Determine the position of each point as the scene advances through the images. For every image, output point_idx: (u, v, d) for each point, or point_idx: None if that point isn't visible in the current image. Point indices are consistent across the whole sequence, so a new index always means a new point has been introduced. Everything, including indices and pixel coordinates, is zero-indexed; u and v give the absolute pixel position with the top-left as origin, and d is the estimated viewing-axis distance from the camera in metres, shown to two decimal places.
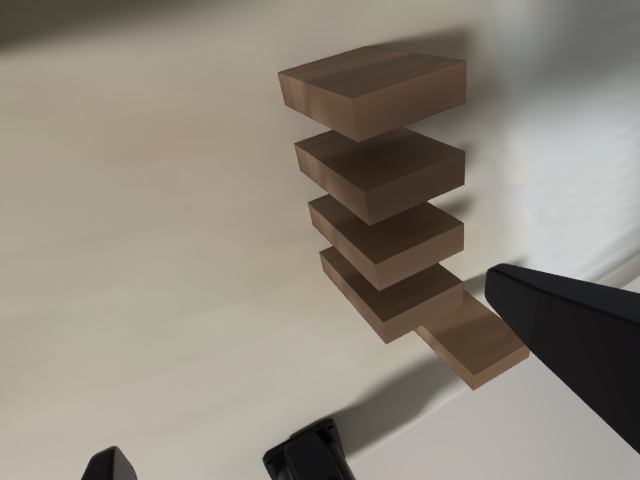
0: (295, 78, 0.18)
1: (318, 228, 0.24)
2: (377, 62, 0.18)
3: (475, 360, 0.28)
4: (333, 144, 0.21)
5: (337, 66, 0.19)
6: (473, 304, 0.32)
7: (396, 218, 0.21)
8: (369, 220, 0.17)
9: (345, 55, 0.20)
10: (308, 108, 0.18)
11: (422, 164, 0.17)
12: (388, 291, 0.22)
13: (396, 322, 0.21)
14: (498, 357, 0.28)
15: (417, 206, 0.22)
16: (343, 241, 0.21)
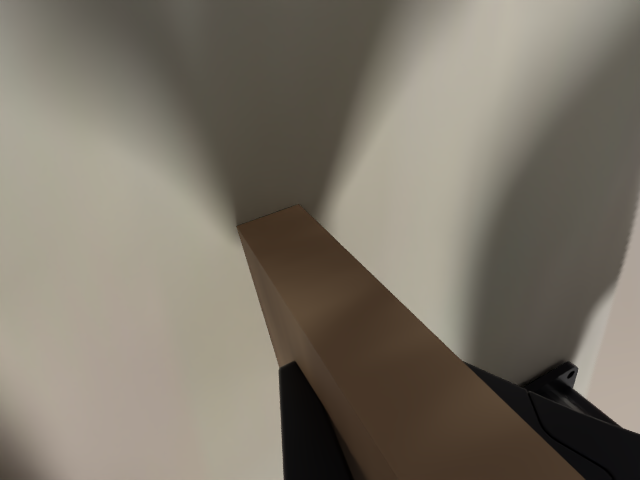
0: None
1: None
2: None
3: None
4: None
5: None
6: (279, 306, 0.08)
7: None
8: None
9: None
10: None
11: None
12: None
13: None
14: None
15: None
16: None
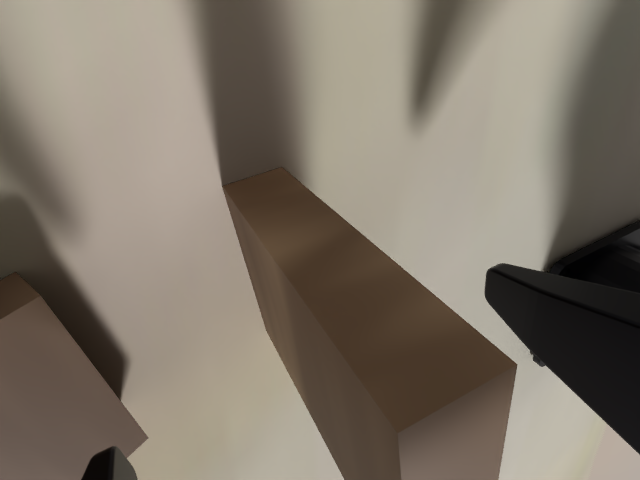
0: None
1: None
2: None
3: None
4: None
5: None
6: (259, 252, 0.08)
7: None
8: None
9: None
10: None
11: None
12: None
13: None
14: None
15: None
16: None
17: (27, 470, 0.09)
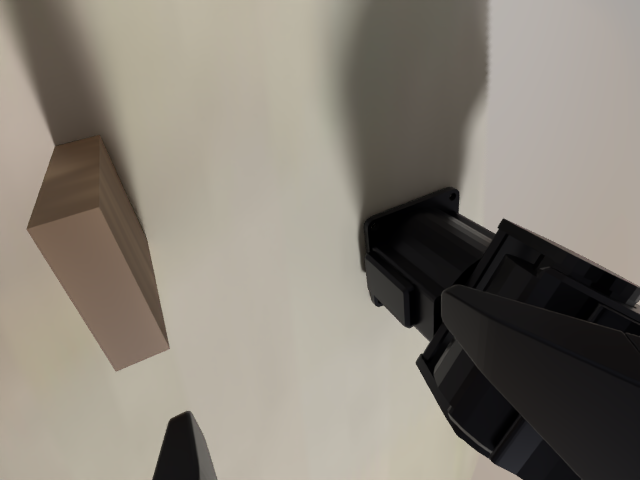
0: None
1: None
2: None
3: None
4: None
5: None
6: None
7: None
8: None
9: None
10: None
11: None
12: None
13: None
14: None
15: None
16: None
17: None
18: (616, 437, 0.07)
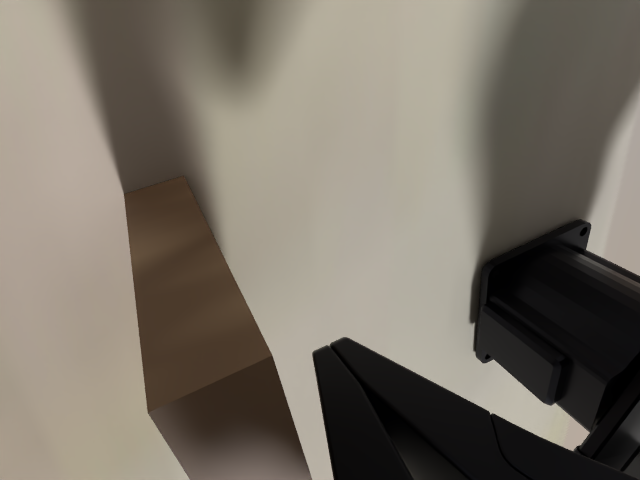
0: None
1: None
2: None
3: None
4: None
5: None
6: None
7: None
8: None
9: None
10: None
11: None
12: None
13: None
14: None
15: None
16: None
17: None
18: None
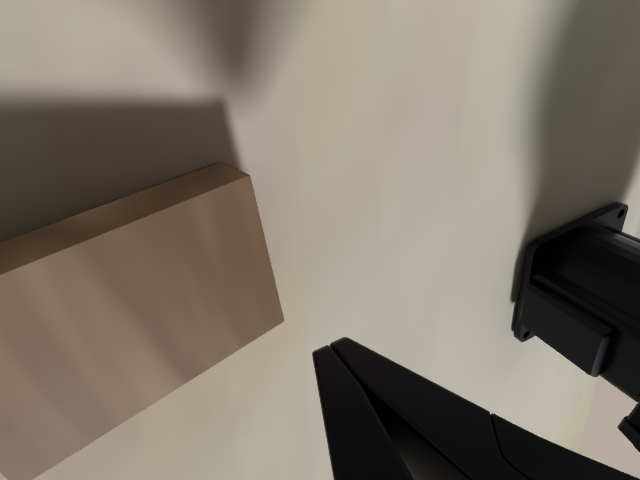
0: None
1: None
2: None
3: None
4: None
5: None
6: None
7: None
8: None
9: None
10: None
11: None
12: None
13: None
14: None
15: None
16: None
17: None
18: None
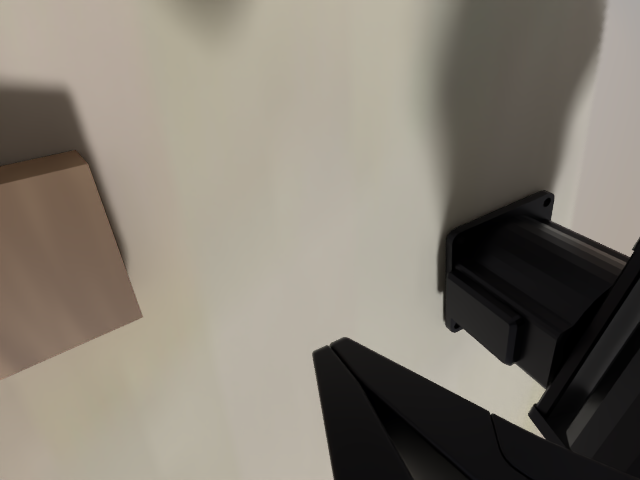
0: None
1: None
2: None
3: None
4: None
5: None
6: None
7: None
8: None
9: None
10: None
11: None
12: None
13: None
14: None
15: None
16: None
17: None
18: None
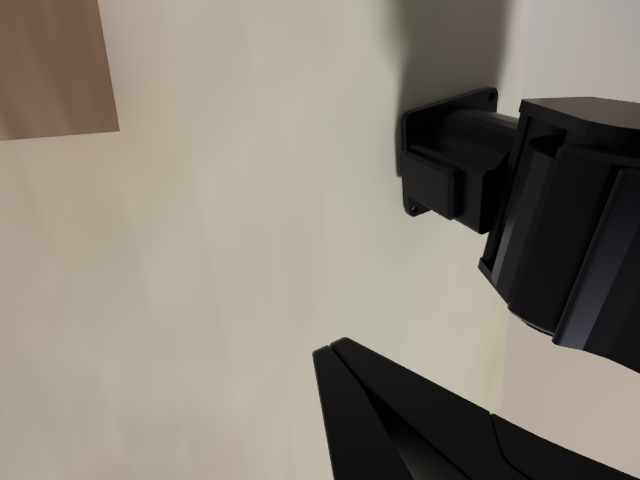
0: None
1: None
2: None
3: None
4: None
5: None
6: None
7: None
8: None
9: None
10: None
11: None
12: None
13: None
14: None
15: None
16: None
17: None
18: None
